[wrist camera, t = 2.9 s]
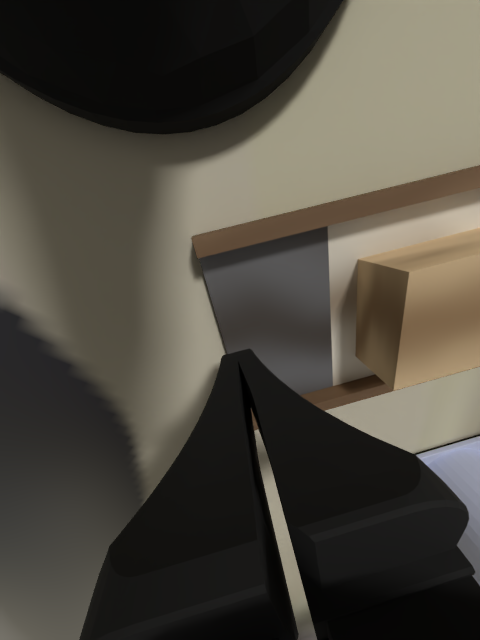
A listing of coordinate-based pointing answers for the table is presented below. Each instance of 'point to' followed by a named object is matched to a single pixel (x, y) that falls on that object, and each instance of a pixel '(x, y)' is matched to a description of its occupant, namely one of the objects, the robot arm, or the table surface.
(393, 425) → the table surface
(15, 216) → the table surface
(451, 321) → the oak block
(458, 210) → the channel
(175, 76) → the sculpture
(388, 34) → the table surface
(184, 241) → the table surface
